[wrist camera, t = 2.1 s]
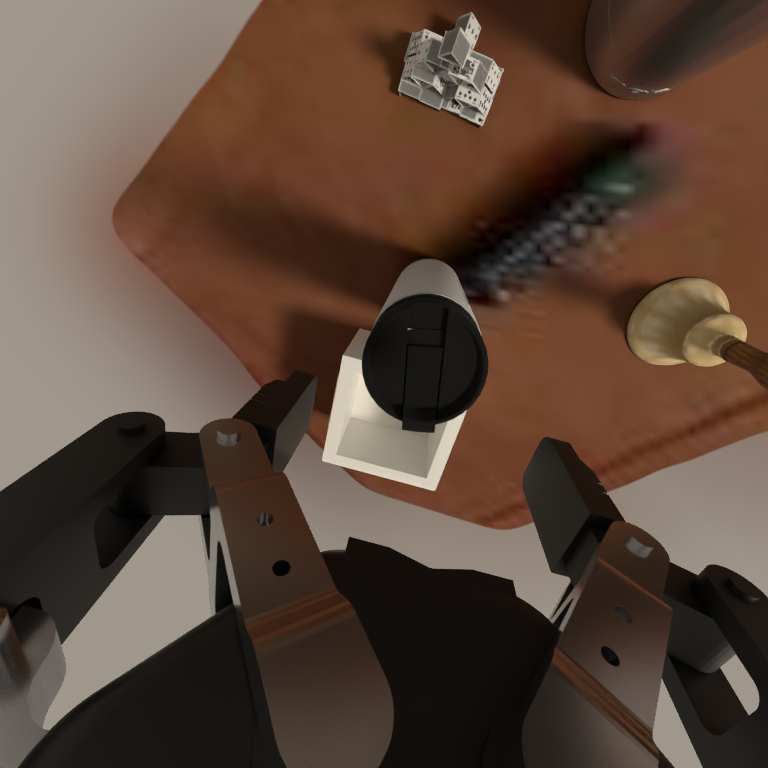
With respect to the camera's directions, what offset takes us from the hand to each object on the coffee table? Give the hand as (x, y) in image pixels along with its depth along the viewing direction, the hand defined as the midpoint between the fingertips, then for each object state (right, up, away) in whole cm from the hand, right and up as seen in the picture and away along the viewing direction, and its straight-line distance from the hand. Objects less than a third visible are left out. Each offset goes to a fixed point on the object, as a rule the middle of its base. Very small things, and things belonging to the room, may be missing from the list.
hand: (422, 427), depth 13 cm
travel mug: (+3, +10, +23) cm, 25 cm away
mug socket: (0, +1, +27) cm, 27 cm away
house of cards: (+5, +27, +15) cm, 31 cm away
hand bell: (+26, +7, +21) cm, 34 cm away
